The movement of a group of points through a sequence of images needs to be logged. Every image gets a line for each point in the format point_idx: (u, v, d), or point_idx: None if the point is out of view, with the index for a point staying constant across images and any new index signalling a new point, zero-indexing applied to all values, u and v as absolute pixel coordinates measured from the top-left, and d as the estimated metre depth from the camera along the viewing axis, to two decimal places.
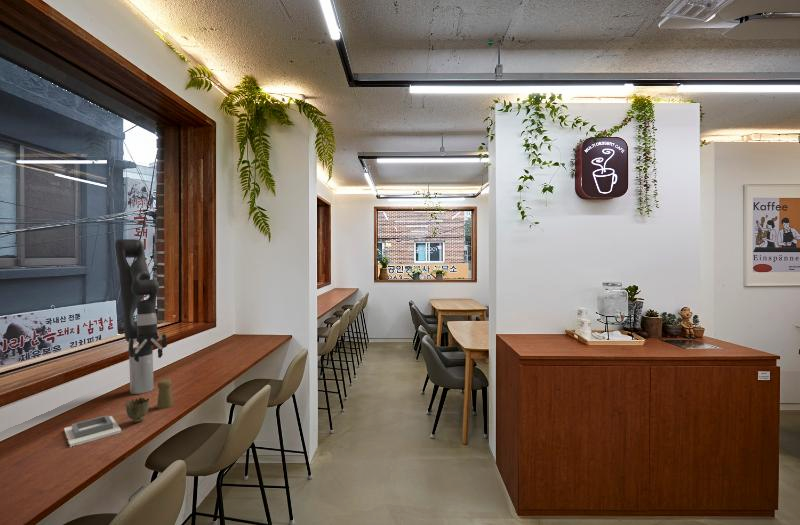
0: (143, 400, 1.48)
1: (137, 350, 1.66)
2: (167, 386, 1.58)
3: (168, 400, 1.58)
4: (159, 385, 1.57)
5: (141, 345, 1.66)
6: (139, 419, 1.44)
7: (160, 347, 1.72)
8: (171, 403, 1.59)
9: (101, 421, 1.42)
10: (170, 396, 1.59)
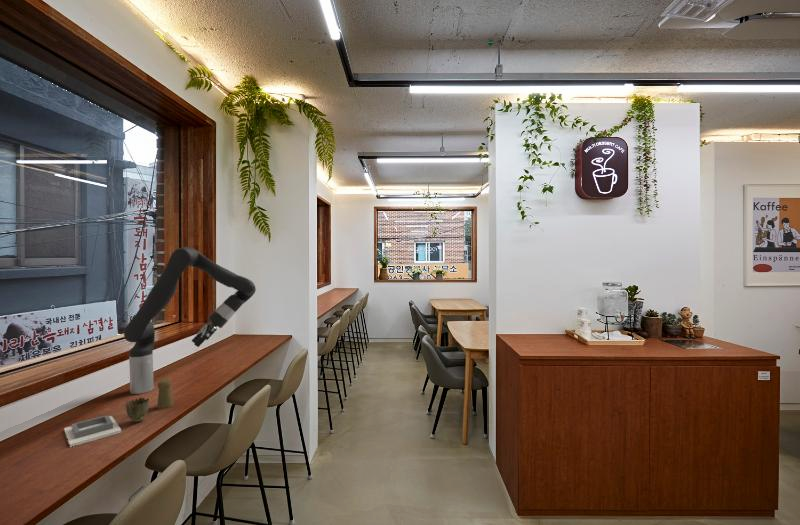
0: (143, 400, 1.48)
1: None
2: (167, 386, 1.58)
3: (168, 400, 1.58)
4: (159, 385, 1.57)
5: None
6: (139, 419, 1.44)
7: None
8: (171, 403, 1.59)
9: (101, 421, 1.42)
10: (170, 396, 1.59)
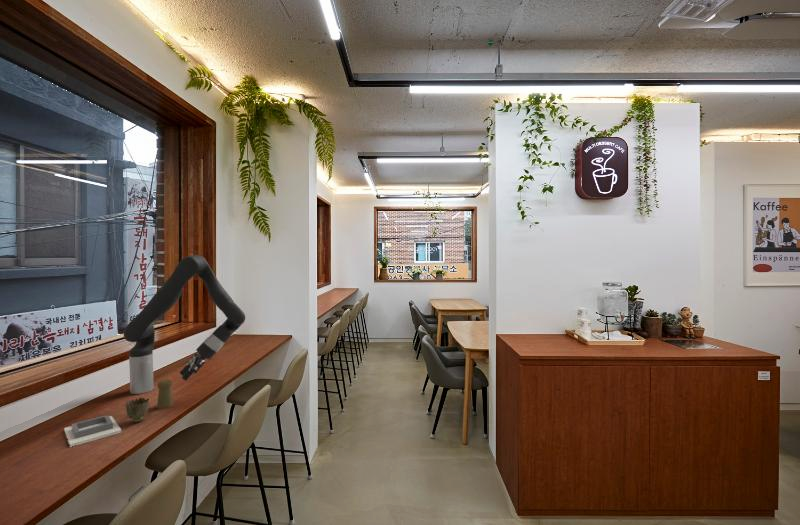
0: (143, 400, 1.48)
1: None
2: (167, 386, 1.58)
3: (168, 400, 1.58)
4: (159, 385, 1.57)
5: None
6: (139, 419, 1.44)
7: None
8: (171, 403, 1.59)
9: (101, 421, 1.42)
10: (170, 396, 1.59)
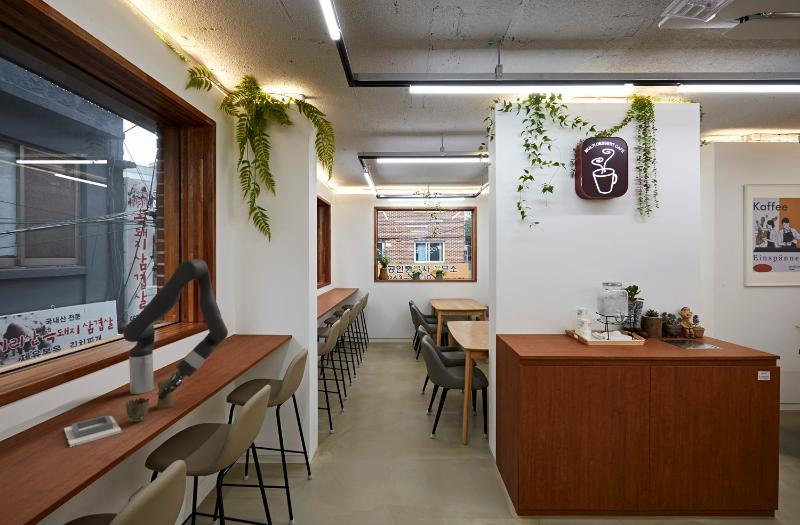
0: (143, 400, 1.48)
1: None
2: None
3: (168, 400, 1.58)
4: (159, 385, 1.57)
5: None
6: (139, 419, 1.44)
7: None
8: (171, 403, 1.59)
9: (101, 421, 1.42)
10: (170, 396, 1.59)
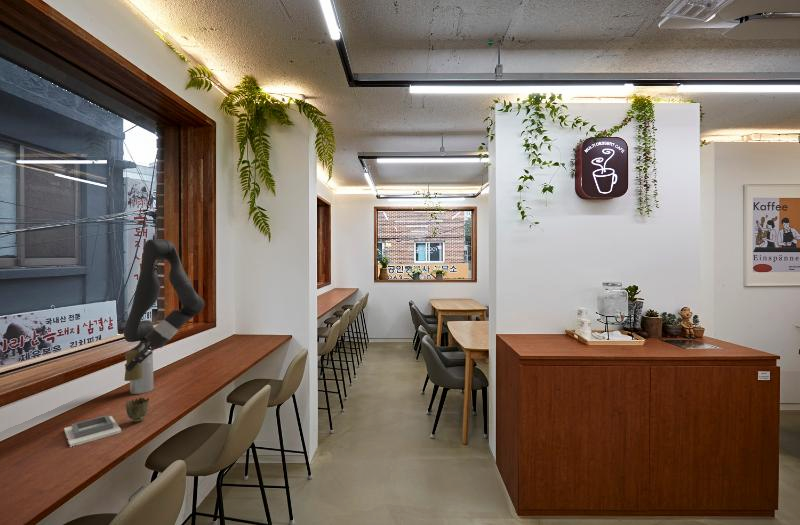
0: (143, 400, 1.48)
1: None
2: None
3: (137, 372, 1.47)
4: (126, 355, 1.46)
5: None
6: (139, 419, 1.44)
7: None
8: (140, 375, 1.48)
9: (101, 421, 1.42)
10: (139, 368, 1.48)
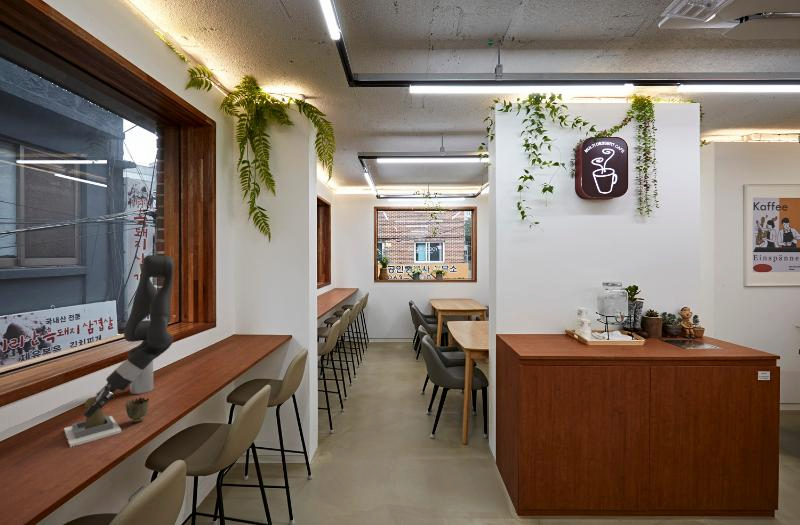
0: (143, 400, 1.48)
1: None
2: None
3: (98, 421, 1.36)
4: (86, 403, 1.35)
5: None
6: (139, 419, 1.44)
7: None
8: (101, 424, 1.37)
9: None
10: (100, 416, 1.37)
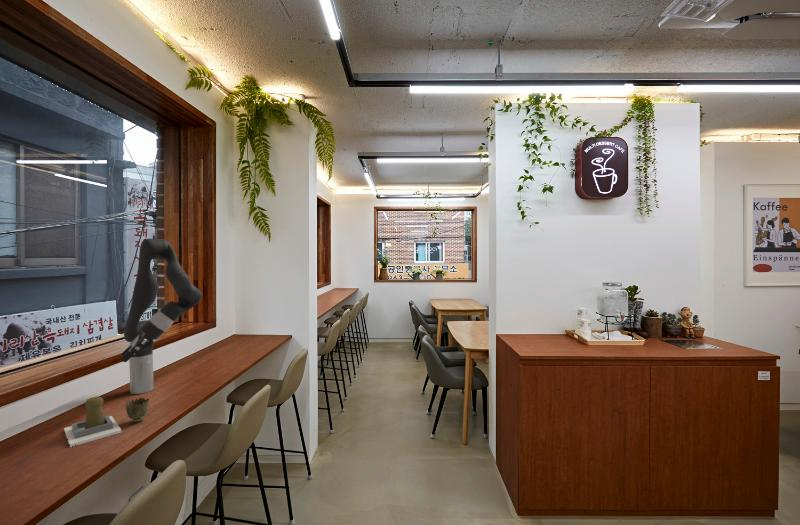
0: (143, 400, 1.48)
1: None
2: (96, 405, 1.36)
3: (98, 421, 1.36)
4: (86, 404, 1.35)
5: None
6: (139, 419, 1.44)
7: None
8: None
9: None
10: (100, 416, 1.37)
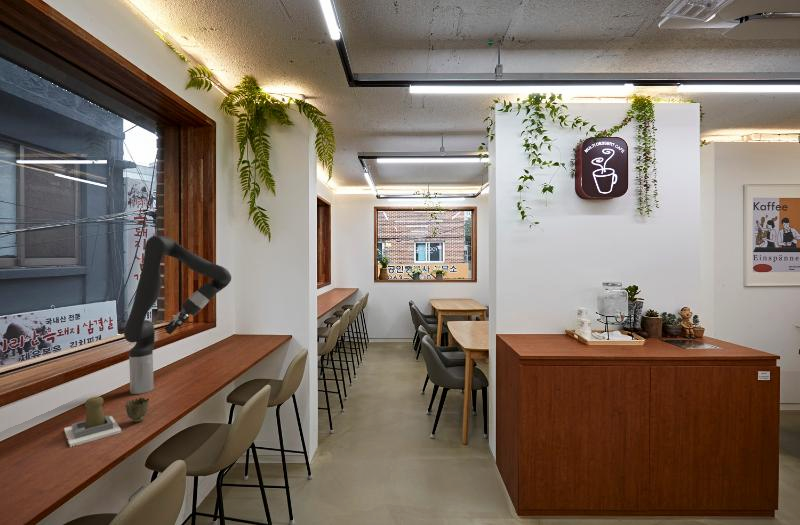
0: (143, 400, 1.48)
1: None
2: (96, 405, 1.36)
3: (98, 421, 1.36)
4: (86, 404, 1.35)
5: None
6: (139, 419, 1.44)
7: None
8: None
9: None
10: (100, 416, 1.37)
